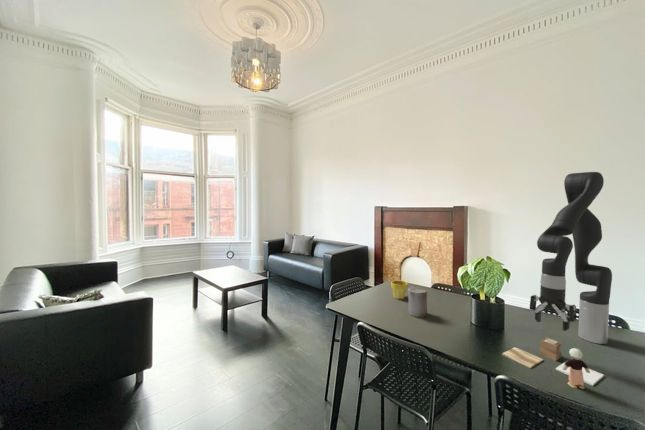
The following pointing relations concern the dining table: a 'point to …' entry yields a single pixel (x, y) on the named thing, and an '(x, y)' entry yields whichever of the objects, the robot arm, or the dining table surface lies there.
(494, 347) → the dining table surface
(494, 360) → the dining table surface
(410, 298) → the pillar candle
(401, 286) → the plant pot
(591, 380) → the pad
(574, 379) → the grandmother figurine
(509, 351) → the pad
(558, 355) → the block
